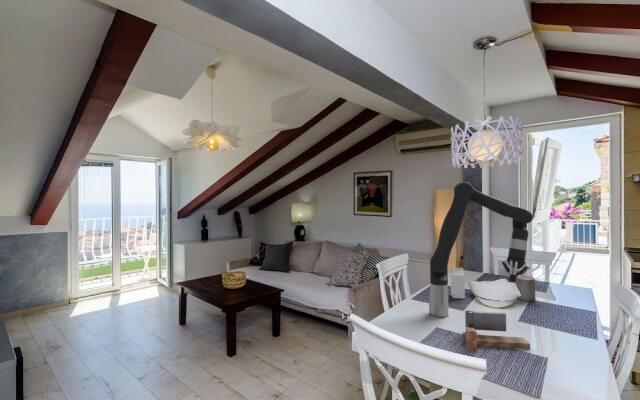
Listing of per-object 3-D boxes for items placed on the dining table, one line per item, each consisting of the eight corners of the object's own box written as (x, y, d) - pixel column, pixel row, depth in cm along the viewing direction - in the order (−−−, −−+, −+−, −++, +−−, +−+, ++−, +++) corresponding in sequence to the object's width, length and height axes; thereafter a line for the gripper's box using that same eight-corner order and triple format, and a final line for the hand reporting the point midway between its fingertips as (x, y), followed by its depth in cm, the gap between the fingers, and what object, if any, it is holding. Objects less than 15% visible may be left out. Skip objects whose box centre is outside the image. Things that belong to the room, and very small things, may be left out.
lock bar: (466, 335, 146) (466, 312, 146) (464, 331, 150) (464, 310, 150) (507, 337, 143) (506, 314, 143) (504, 334, 146) (503, 312, 146)
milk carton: (465, 298, 200) (464, 269, 200) (453, 298, 202) (452, 268, 202) (462, 295, 207) (461, 266, 207) (450, 295, 209) (450, 266, 209)
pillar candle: (532, 297, 201) (531, 274, 201) (537, 302, 192) (536, 277, 192) (515, 296, 204) (514, 273, 204) (519, 301, 195) (518, 276, 195)
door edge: (468, 350, 133) (468, 331, 133) (457, 331, 151) (457, 315, 151) (535, 354, 128) (535, 335, 128) (515, 335, 147) (515, 318, 147)
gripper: (500, 245, 164) (495, 278, 162) (528, 250, 153) (523, 285, 151) (507, 247, 168) (502, 279, 166) (535, 251, 157) (530, 286, 155)
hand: (512, 282), depth 159 cm, fingers closed
